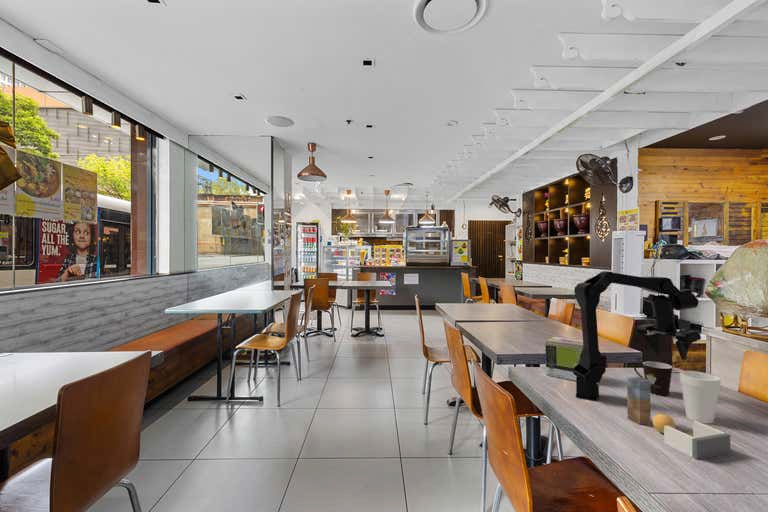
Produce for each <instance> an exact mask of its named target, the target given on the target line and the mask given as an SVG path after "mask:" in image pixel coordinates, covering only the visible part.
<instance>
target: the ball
mask: <svg viewBox="0 0 768 512" xmlns="http://www.w3.org/2000/svg"><path fill="white" fill-rule="evenodd" d="M652 425H653V427H654V429H655V430H657V431H658V432H660V433H661V434H664V426H669V427H672V428H674V429H676V423H675V421H674V419H673V418H671V416H669V415H667V414H665V413H658V414H656V415H654V416H653V418H652Z"/></svg>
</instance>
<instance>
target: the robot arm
mask: <svg viewBox="0 0 768 512" xmlns="http://www.w3.org/2000/svg"><path fill="white" fill-rule="evenodd" d="M611 284H616V285H622V286H629V287H634V288H639V289H641V290H643V291H647V292H648V293H649V294H648V296H646V297H645V299H644V301H646V302H651V304H652V310H653V311H652V312H653V315H651V319H652V320H654V322H655V323H643V324H640V325H638V326H637V334H640V336H641V337H643V338H644V339H645V341H646V342H647V343H648V344H649V346H650V347H651V348H652V350H654V352H655V353H656V354H657V355H660V354H661V352H660V350H661V347H660V339H659V337H660V336H661V335H665V336H671V337H674V339H676V341H674V342H675V345H676V347H677V350H678V354H679V356H680V359H681V360H682V361H685V360H686V359H687V355H688V353H689V349H690V347H691V345H692V344H693V343H696V342H697V341H699V340H700V341H701V340H702V339H701V333H700V332H699V331H698V330H692V329H691V328H690V327H691V320H686V319H682V318H681V319H680V317H679V315H678V314H675V311H677V312H678V311H685V310H691V309H695V308H697V307H698V306H699V299H698V298H697V295H695V293H693V291H692V289H690V288H684V289H681V290H680V289H679V288H678V287H677V286H676V285H675V284H674V283H673V280H672V279H671V278H669V277H665V276H664V277H662V276H637V275H631V274H624V273H618V272H613V271H610V270H609V271H608V270H605V271H604V270H602V271H601V272H598V273H597V274H596V275H595V276H592V277H590V278H588V279H586V280H584V281H583V282H579V283H577V285H576V286H575V287H574V295H575V299H576V302H577V304H578V306H579V309H580V317H581V332H582V333H581V335H582V341H583V350H582V352H581V354H580V361H579V363H578V364H577V365H576V366H575V367H574V368H573V369H572V371H573V373H574V375H576V376H577V377H576V381H575V383H576V384H575V387H576V388H575V391H576V393H575V398H578V399H583V400H584V399H585V400H589V401H598V398H600V384H599V383H601V380H602V377H603V376H604V374H606V372H607V371H606V369H607V368H609V367H608V364H607V359H608V358H607V355H605V354H603V353H602V352H600V348H599V334H598V320H597V319H598V318H597V308H598V305H599V304H600V300H601V294H603V292H606V290H607V289H608V288H609V286H611ZM654 293H655V294H657V295H655V294H654ZM666 295H667V296H666ZM682 329H684V330H682Z"/></svg>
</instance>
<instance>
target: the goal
mask: <svg viewBox="0 0 768 512" xmlns="http://www.w3.org/2000/svg"><path fill="white" fill-rule="evenodd" d="M692 426H693V427H692V431H693V432H692V434H693V435H689V434H688V433H684V432H682V431H681V430H678V429H676V428H675V429H674V428H672V427H669V426H664V433H663V439H664V441H663V443H664V444H665V445H667V446H669V447H671V448H673V449H676V450H677V451H679V452H681V453H683V454H685V455H687V456H690V457H691V458H694V459H696V460H700V459H705V458H711V457H712V458H713V457H715V456H722V455H728V454H731V434H729V433H726V432H724V431H721V430H719V429H716V428H715V427H711V426H709V425H707V424H705V423H701V422H697V421H694V420H693V422H692Z"/></svg>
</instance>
